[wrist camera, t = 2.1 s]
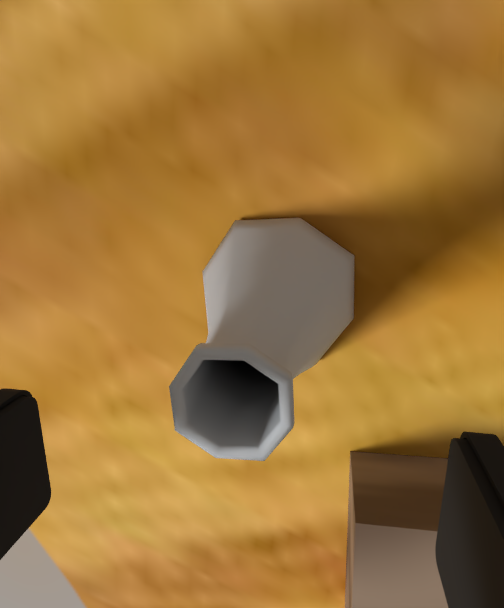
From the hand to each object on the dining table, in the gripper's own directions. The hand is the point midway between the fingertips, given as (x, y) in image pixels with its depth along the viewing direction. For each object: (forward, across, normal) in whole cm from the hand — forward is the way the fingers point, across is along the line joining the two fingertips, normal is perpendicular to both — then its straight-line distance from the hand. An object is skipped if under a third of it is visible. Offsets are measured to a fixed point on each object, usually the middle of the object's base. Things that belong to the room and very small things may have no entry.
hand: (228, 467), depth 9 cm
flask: (+11, 0, -1) cm, 11 cm away
